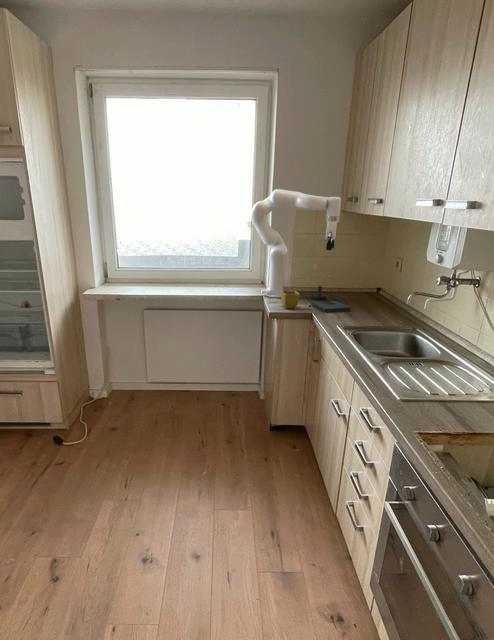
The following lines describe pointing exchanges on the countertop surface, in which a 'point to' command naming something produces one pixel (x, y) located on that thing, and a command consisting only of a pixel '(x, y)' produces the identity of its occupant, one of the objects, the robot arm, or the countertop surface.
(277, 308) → the countertop surface
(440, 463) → the countertop surface
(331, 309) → the big pad
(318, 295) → the dark stamp
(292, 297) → the flower pot
